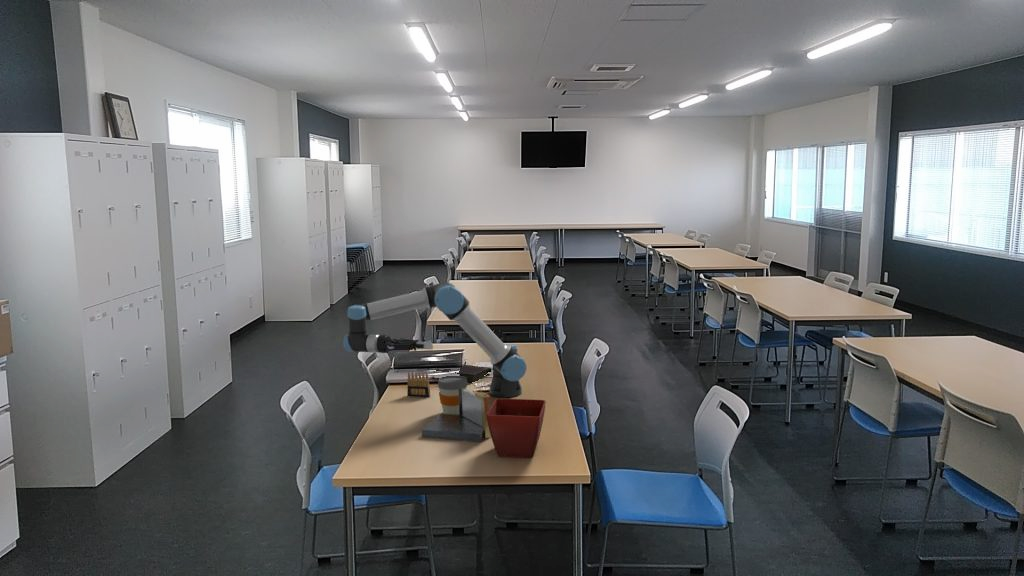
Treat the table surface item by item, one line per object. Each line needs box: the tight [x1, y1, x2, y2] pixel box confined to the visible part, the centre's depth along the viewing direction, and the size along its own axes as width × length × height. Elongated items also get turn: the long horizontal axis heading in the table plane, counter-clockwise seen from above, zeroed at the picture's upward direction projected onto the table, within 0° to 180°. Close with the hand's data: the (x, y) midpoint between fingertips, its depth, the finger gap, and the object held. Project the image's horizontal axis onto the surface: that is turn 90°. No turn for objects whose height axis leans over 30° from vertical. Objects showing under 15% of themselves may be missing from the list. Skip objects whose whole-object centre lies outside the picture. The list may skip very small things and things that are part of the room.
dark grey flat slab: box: [421, 413, 485, 443], centre depth 277 cm, size 20×24×3 cm
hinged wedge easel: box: [459, 388, 482, 426], centre depth 278 cm, size 20×3×11 cm, turn 33°
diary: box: [434, 364, 493, 384], centre depth 356 cm, size 19×25×5 cm
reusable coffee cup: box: [437, 376, 468, 415], centre depth 298 cm, size 12×13×15 cm
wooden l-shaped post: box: [474, 391, 492, 440], centre depth 270 cm, size 3×7×16 cm, turn 30°
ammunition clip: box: [406, 371, 431, 399], centre depth 323 cm, size 11×2×12 cm, turn 77°
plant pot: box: [486, 398, 546, 459], centre depth 253 cm, size 19×19×17 cm
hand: (431, 345), depth 285 cm, fingers closed
